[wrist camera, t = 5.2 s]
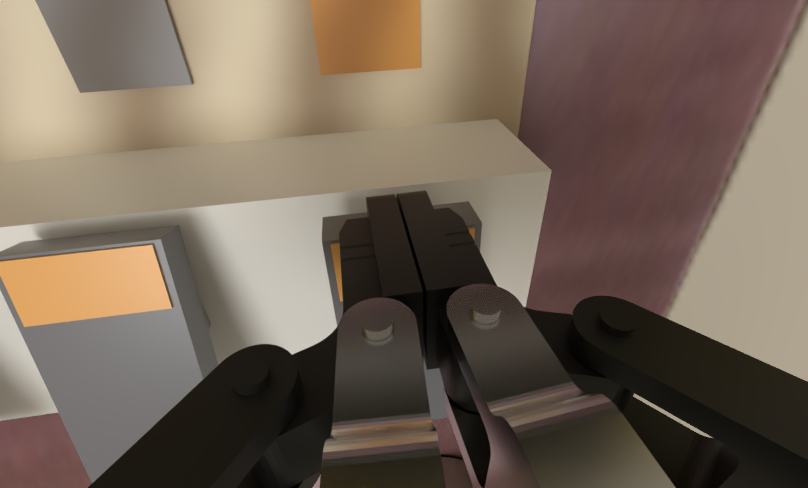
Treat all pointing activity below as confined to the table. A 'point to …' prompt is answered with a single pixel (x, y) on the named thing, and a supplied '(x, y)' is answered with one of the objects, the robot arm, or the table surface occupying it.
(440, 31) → the chart board
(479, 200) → the switch box
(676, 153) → the table surface
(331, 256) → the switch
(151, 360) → the switch middle
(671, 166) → the table surface
